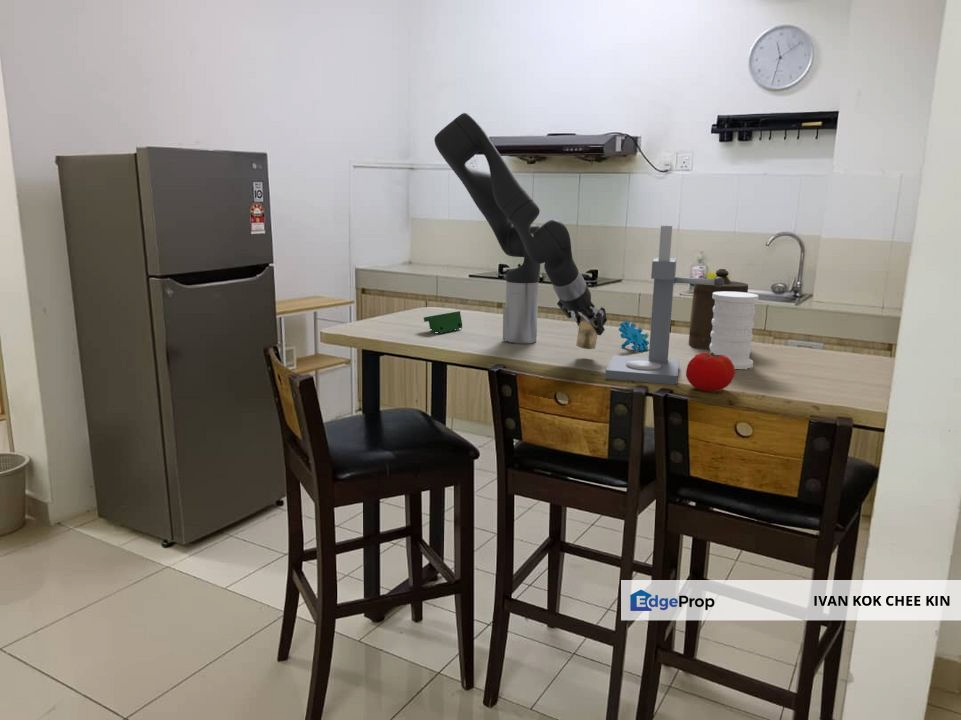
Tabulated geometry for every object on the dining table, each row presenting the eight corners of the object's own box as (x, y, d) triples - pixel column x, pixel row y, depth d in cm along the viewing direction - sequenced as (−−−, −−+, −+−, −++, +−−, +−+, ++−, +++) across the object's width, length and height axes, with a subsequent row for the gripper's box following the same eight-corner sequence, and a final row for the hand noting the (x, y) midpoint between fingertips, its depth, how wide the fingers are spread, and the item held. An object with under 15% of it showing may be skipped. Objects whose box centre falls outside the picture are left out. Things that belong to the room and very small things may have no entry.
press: (605, 378, 169) (613, 225, 161) (613, 362, 184) (622, 222, 177) (716, 388, 162) (731, 228, 154) (715, 371, 178) (728, 225, 170)
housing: (575, 346, 188) (580, 308, 185) (577, 342, 192) (583, 304, 189) (594, 350, 186) (600, 311, 184) (596, 345, 191) (602, 307, 188)
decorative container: (699, 359, 191) (705, 290, 187) (743, 359, 191) (750, 291, 187) (712, 369, 180) (719, 297, 176) (759, 370, 179) (767, 297, 176)
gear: (631, 348, 195) (616, 318, 199) (617, 360, 199) (603, 331, 203) (658, 349, 201) (643, 320, 206) (644, 361, 205) (629, 332, 210)
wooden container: (733, 341, 215) (740, 267, 210) (749, 352, 201) (757, 272, 196) (683, 340, 216) (689, 266, 211) (695, 350, 202) (701, 271, 197)
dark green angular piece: (446, 342, 228) (449, 315, 231) (460, 340, 225) (463, 312, 227) (419, 332, 220) (423, 304, 222) (434, 330, 216) (437, 301, 218)
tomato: (678, 384, 165) (681, 348, 163) (723, 384, 165) (726, 348, 163) (693, 395, 155) (696, 357, 154) (740, 395, 156) (743, 357, 154)
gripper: (540, 293, 181) (563, 334, 193) (586, 306, 172) (607, 348, 184) (556, 270, 183) (578, 312, 195) (602, 282, 174) (622, 326, 186)
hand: (592, 329), depth 189 cm, fingers closed on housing, 5 cm apart
